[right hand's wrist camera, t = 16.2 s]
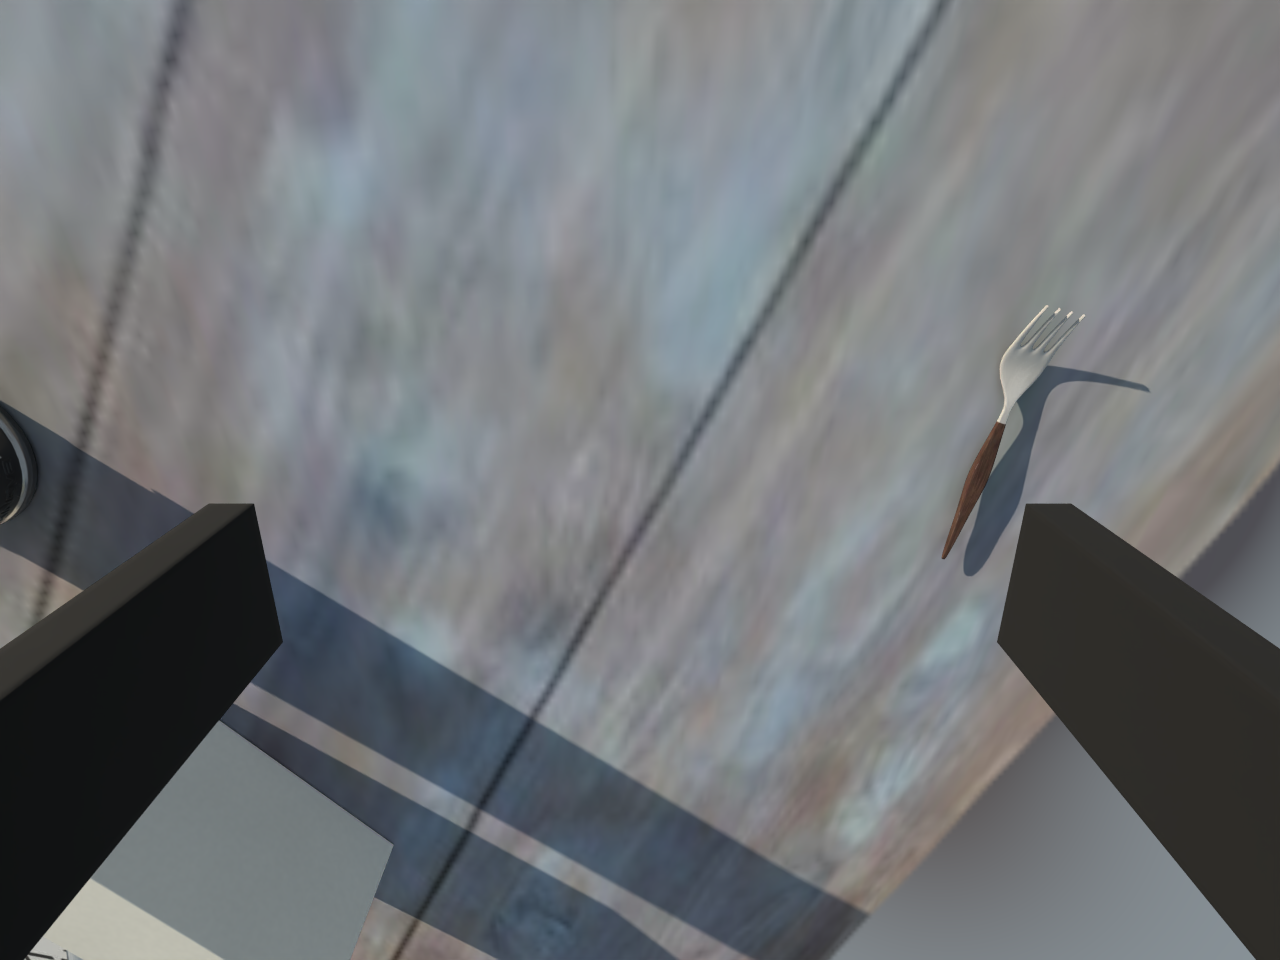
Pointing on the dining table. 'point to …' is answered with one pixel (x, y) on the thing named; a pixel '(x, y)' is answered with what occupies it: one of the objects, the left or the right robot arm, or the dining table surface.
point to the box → (230, 869)
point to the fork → (1006, 410)
